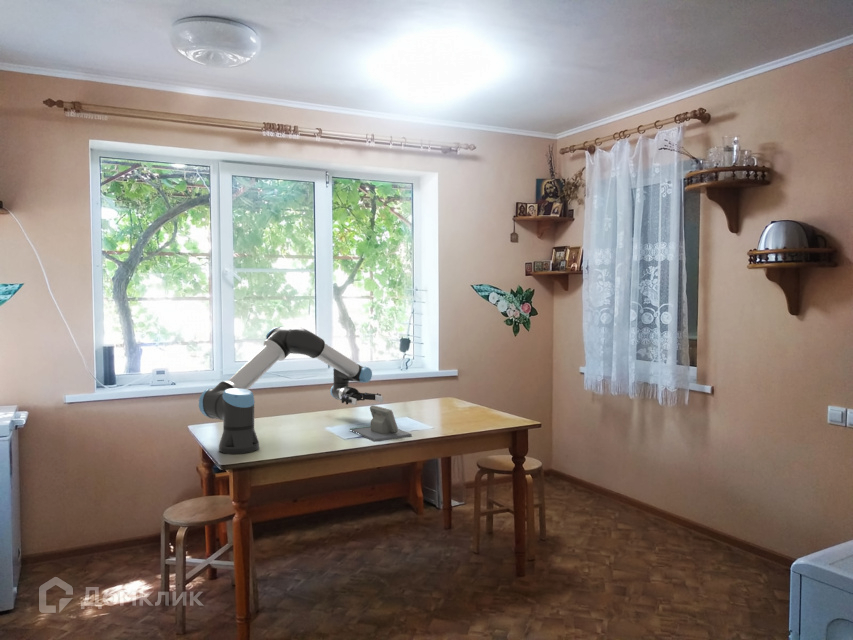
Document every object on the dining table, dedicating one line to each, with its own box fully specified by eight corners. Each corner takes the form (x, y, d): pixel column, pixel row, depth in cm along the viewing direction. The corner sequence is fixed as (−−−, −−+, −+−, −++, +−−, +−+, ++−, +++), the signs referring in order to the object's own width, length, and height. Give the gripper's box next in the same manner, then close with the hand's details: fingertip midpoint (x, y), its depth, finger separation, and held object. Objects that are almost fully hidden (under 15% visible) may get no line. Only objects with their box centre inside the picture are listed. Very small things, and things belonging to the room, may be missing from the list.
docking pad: (374, 441, 249) (374, 438, 249) (349, 430, 270) (349, 427, 270) (411, 436, 259) (411, 433, 259) (384, 426, 279) (384, 423, 279)
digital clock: (399, 433, 259) (399, 409, 259) (380, 435, 256) (380, 410, 255) (385, 426, 274) (385, 403, 274) (366, 428, 270) (366, 404, 270)
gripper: (372, 400, 298) (393, 406, 280) (325, 404, 285) (344, 411, 267) (372, 385, 298) (393, 390, 280) (325, 388, 284) (344, 394, 267)
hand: (369, 400), depth 273 cm, fingers open, 13 cm apart
